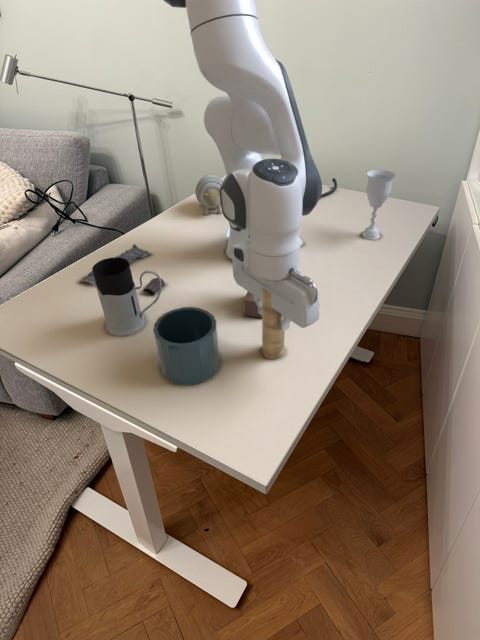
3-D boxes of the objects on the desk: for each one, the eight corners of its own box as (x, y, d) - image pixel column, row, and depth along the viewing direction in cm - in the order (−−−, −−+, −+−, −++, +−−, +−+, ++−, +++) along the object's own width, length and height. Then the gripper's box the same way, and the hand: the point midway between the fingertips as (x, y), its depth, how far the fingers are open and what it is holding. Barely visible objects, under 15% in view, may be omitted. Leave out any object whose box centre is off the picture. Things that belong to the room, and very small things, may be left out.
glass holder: (111, 311, 102) (96, 256, 93) (171, 311, 101) (162, 255, 92) (100, 336, 95) (83, 278, 86) (165, 335, 95) (154, 277, 85)
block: (143, 294, 107) (141, 288, 106) (154, 281, 112) (152, 275, 111) (156, 296, 106) (155, 290, 105) (166, 283, 111) (165, 277, 110)
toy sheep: (199, 220, 139) (196, 187, 132) (194, 200, 152) (191, 168, 145) (232, 217, 140) (230, 183, 133) (224, 197, 153) (222, 165, 146)
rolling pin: (273, 341, 92) (275, 277, 82) (288, 352, 89) (291, 287, 79) (257, 351, 90) (257, 286, 80) (272, 362, 87) (273, 297, 77)
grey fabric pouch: (92, 289, 110) (90, 282, 109) (75, 280, 113) (73, 274, 112) (151, 255, 123) (150, 248, 122) (135, 248, 126) (133, 242, 125)
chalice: (356, 238, 126) (364, 177, 114) (360, 228, 131) (369, 168, 119) (382, 242, 123) (393, 180, 112) (385, 232, 128) (396, 171, 117)
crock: (198, 337, 94) (193, 299, 87) (230, 366, 86) (228, 327, 80) (151, 361, 88) (142, 323, 82) (181, 394, 81) (174, 355, 75)
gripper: (331, 276, 71) (324, 340, 79) (251, 233, 83) (252, 292, 92) (303, 291, 68) (299, 356, 76) (225, 243, 81) (229, 303, 89)
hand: (273, 320), depth 84 cm, fingers closed on rolling pin, 4 cm apart
